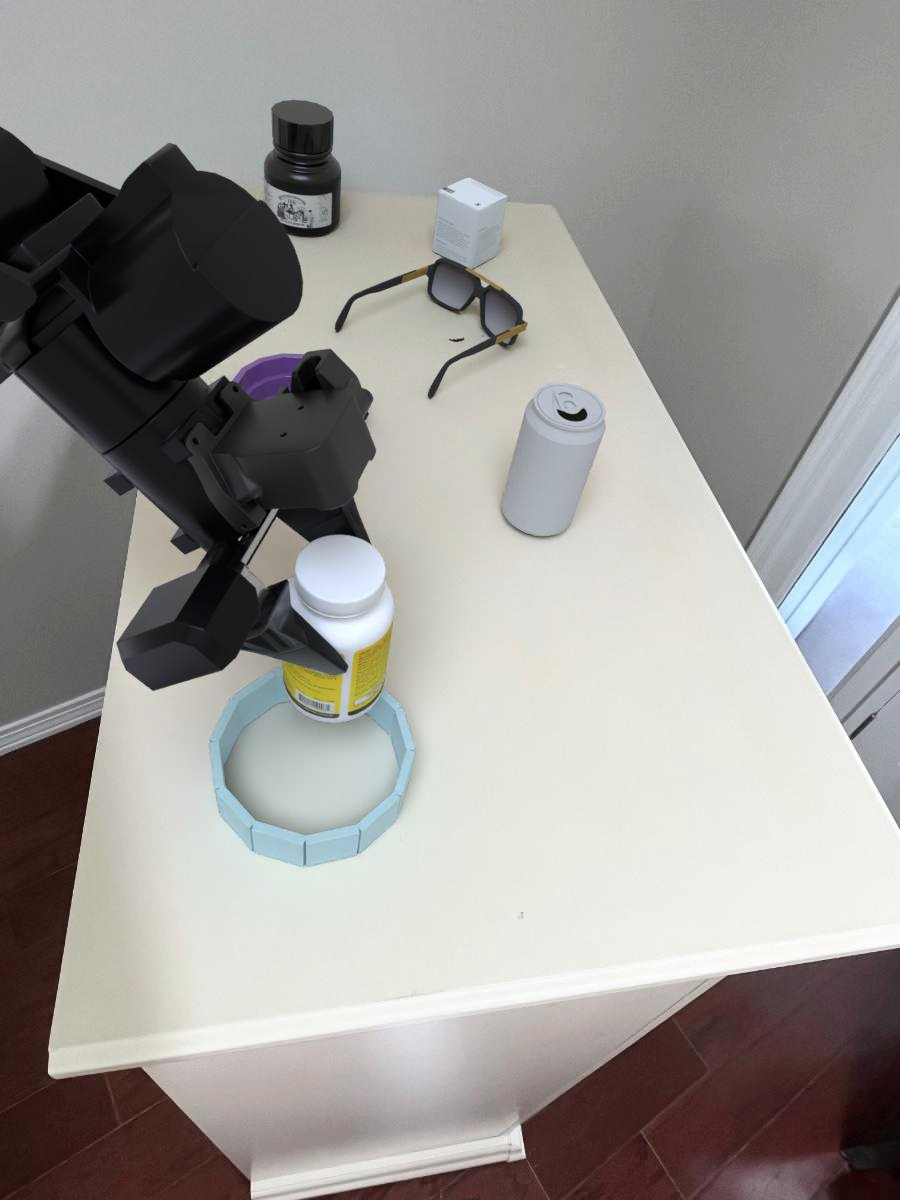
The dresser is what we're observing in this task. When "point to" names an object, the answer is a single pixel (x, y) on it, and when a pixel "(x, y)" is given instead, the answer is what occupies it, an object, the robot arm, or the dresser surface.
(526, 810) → the dresser surface
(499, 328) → the sunglasses
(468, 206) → the white cardboard box
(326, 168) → the ink bottle
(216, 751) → the light blue ring
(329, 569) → the pill bottle
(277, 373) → the purple bowl
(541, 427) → the beverage can
